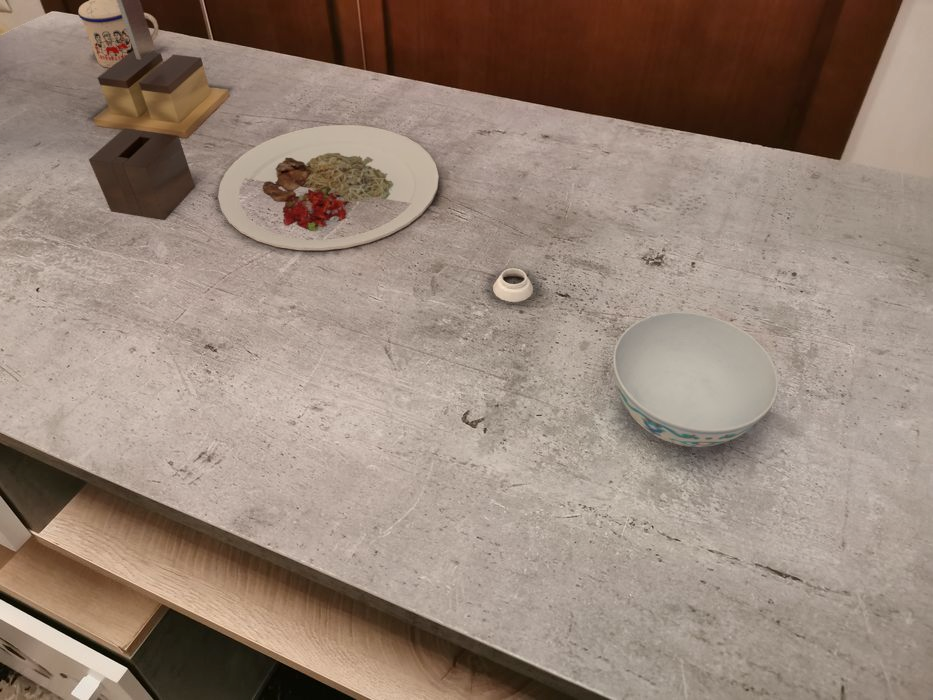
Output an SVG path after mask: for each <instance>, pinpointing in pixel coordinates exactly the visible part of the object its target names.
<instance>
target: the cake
mask: <svg viewBox="0 0 933 700" xmlns="http://www.w3.org/2000/svg"><path fill="white" fill-rule="evenodd" d="M207 78H208V77H207V73H206V71H205V67H204V63H203V60H202V57H200V56H199V57H198V56H191V55H181V54H172V55H171V56H170V57H169V58H167V59H166V60H165V61H164V59H163V55H162V53H161V52H155V51H152V52H150V53H149V54H148V55H146V56H145V57H144V58H143V59H141V60H140V59H136V56H135V53H134V50H133V51H132V52H130V53H129V54H128V55H126V56H125V57H124V58H123V59H121V60H120V61H119V62H117V63H116V64H115V65H113V66H112V67H111V68H107V69H106V71H104V72H103V73H101V74H100V75H99V76H98V77H97V80H98V83H99V85H100V88H101V91H102V93H103V96H104V98H105V101H106V104H107V107H105V109H103V110H102V111H100V112H99V113H98V114H97V115H96V116H95V117H93V118H92V121H93V123H94V125H95V126H96V127H102V128H108V129H109V128H111V129H116V130H123V129H124V128H128V129H135V130H142V131H149V132H156V133H163V134H171V135H178V136H179V139H180V138H181V139H188V138H189V137H190V136H191V135H192V134H193V133H194V132H196V130H197V129H198V128H199V127H200V126H201V125H202V124H203V123H205V121H206V120H207V119H208V118H209V117H210V116H211V115H213V113H214V112H215V111H216V110H217V109H218V108H219V107H220V106H221V105H222V104H223V103H224V102H226V100H227V99H228V98H229V97H230V92H229V90H228V89H226V88H221V87H220V88H219V87H210V85H209V81H208V79H207Z"/></svg>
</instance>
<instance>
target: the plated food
mask: <svg viewBox="0 0 933 700" xmlns="http://www.w3.org/2000/svg"><path fill="white" fill-rule="evenodd" d="M245 179H247V180H251V181H252V180H254V181H260V182H264V184H262V190H263V193H264V194H266V195H267V196H269V197H270V198H271V199H272V200H273V201H274V202H279V203H285V204H284V207H282V214H283V215H282V216H283V220H282V222H283V223H284V226H285V227H286V226H291V225H292V224H295V223H296V225H298V227H300V228H303V229H305V230H310V231H311V232H320V231H323V230H324V229H326V227H327V226H330V225H331V224H332V223H333V224H335V223H338V222H341V221H342V220H345V219H346V217H347V216H346V214H347V211H346V208H345V207H346V205H349V206H354V204H353V203H354V202H357V201H358V203H361V202H362V201H367V198H370V199H373V198H375V199H381V200H387V201H388V200H389V201H394V202H395V201H396V202H401V203H409V205H408V206H407V207H406V209H405V210H404V211H402V212H400V214H398V215H397V216H396V217H395V218H393V219H392V220H390V221H388V222H386V223H384V224H382V225H380V226H379V227H376V228H373V229H370V230H368V231H365V232H362V233H358V234H353V235H350V236H345V237H336V238H327V239H305V238H297V237H291V236H286V235H282V234H279V233H276V232H272V231H269V230H268V229H265V228H264V227H262V226H260V225H258V224H257V223H256V222H254V221H253V220H252V219H251V218H249V216H248V215H247V214H246V212H245V211H244V210H243V208H242V204H241V201H240V200H241V199H240V192H241V187H242V185H243V183H244V180H245ZM280 187H281V188H282V189H281V188H280ZM300 187H301V188H307V189H308V190H307V192H305V193H303V194H299V195H297V194H296V192H295V191H296V190H297V189H299V188H300ZM438 187H439V171H438V168H437V164H436V162H435V161H434V159H433V157H432V156H431V154H430V153H429V152H428V151H427V150H425V149H424V148H423V146H421V144H419V143H417V142H415V141H414V140H412V139H410V138H408V137H407V136H404V135H403V134H402V135H401V134H400V133H397V132H393V131H391V130H387V129H382V128H378V127H374V126H366V125H357V124H333V125H332V124H330V125H321V126H319V125H318V126H312V127H308V128H303V129H298V130H294V131H290V132H287V133H283V134H281V135H278V136H275V137H272V138H270V139H268V140H266V141H263V142H261V143H259V144H257V145H255V146H254V147H252V148H251V149H249V150H247V151H246V152H245V153H243V154H242V155H241V156H240V157H238V158H237V159H236V160H235V161H234V162H233V163H232V164H231V165H230V167H228V169H227V170H226V171H225V173H224V174H223V176H222V179H221V181H220V183H219V187H218V193H217V194H218V195H217V199H218V202H219V207H220V211H221V212H222V213H221V214H223V215H224V217H225V219H226V220H227V222H228V223H229V224H230V225H231V226H233V228H235V229H236V230H237V231H238V232H240V234H243V235H245V236H247V237H249V238H250V239H252V240H254V241H257V242H259V243H262V244H265V245H269V246H271V247H272V246H273V247H276V248H283V249H287V250H288V249H289V250H296V251H330V250H340V249H348V248H352V247H357V246H361V245H365V244H370V243H371V242H375V241H378V240H380V239H383V238H386V237H388V236H391V235H393V234H394V233H397V232H398V231H400V230H402V229H403V228H405V227H408V226H409V225H410V224H411V223H412V222H414V221H415V220H417V218H419V217H420V216H422V215H423V213H424V212H425V211H426V210H427V209H428V208H429V206H430V205H431V204H432V203H433V200H434V198H435V196H436V194H437V192H438ZM311 189H312V190H311ZM332 217H333V220H330V219H331V218H332Z"/></svg>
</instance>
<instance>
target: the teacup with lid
mask: <svg viewBox="0 0 933 700" xmlns="http://www.w3.org/2000/svg"><path fill="white" fill-rule="evenodd" d="M144 15H145V18H146V20H149V21H150V22H151V23H152V25H153V28H154V29H153V33H152V34H151V37H152V40H153V41H155V40H156V39H157V37H158V34H159V24H158V21H157V19H156V18H155V17H154V16H153V15H151V13H147V12H144ZM78 17H79V18H80V19H81V21H82V24H83V26H84V30H85V31H86V34H87V37H88V39H89V42H90V44H91V48H92V50H93V53H94V56H95V58H96V61H97V63H98V64H99V65H100V66H102V67H104V68H106V69H109V68H111V67H112V66H113V65H115V64H116V63H117V62H119V61H120V60H121V59H123V58H124V57H125V56H126V55H128V54H129V53H130V52H132V51H133V47H132V44H131V41H130V38H129V35H128V32H127V29H126V26H125V24H124V21H123V18H122V15H121V12H120V9H119V6H118V3H117V0H88V1H85V2H83V3H82V4H81V5H80V6H79V8H78Z"/></svg>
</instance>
